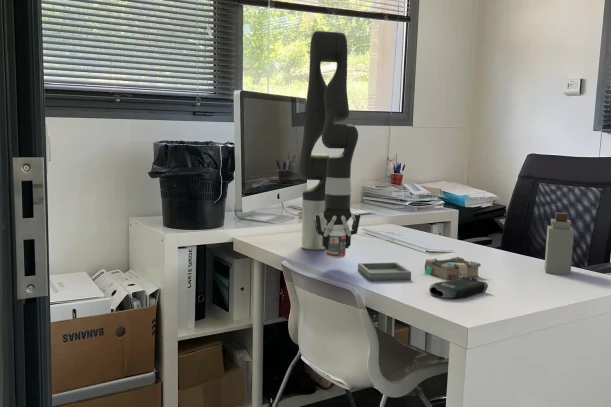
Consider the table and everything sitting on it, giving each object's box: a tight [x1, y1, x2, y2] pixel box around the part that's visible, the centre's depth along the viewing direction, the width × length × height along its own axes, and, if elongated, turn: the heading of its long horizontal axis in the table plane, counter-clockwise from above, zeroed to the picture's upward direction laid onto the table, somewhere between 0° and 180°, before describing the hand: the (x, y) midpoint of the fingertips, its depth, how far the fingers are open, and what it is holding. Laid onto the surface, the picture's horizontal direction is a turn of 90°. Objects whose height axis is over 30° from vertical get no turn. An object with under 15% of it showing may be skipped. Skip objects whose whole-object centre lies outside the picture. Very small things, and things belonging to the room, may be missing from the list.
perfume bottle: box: [544, 211, 575, 276], centre depth 174 cm, size 7×7×18 cm
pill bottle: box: [326, 225, 347, 259], centre depth 172 cm, size 6×6×10 cm
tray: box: [357, 261, 412, 282], centre depth 166 cm, size 12×12×2 cm
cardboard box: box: [420, 256, 482, 281], centre depth 167 cm, size 20×12×5 cm, turn 115°
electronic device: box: [428, 276, 489, 300], centre depth 149 cm, size 9×6×15 cm
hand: (336, 247), depth 172 cm, fingers closed on pill bottle, 5 cm apart
